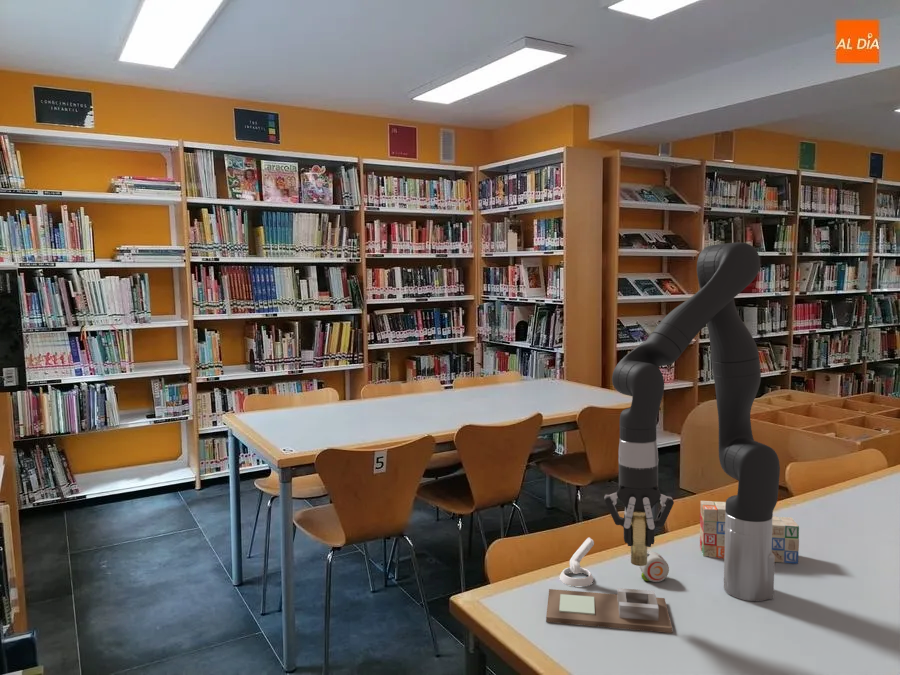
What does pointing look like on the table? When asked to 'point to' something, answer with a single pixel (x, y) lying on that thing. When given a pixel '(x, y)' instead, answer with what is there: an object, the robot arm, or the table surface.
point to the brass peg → (639, 538)
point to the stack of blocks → (714, 534)
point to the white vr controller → (578, 566)
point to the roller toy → (654, 568)
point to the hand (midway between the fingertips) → (638, 544)
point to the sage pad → (577, 604)
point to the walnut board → (615, 610)
